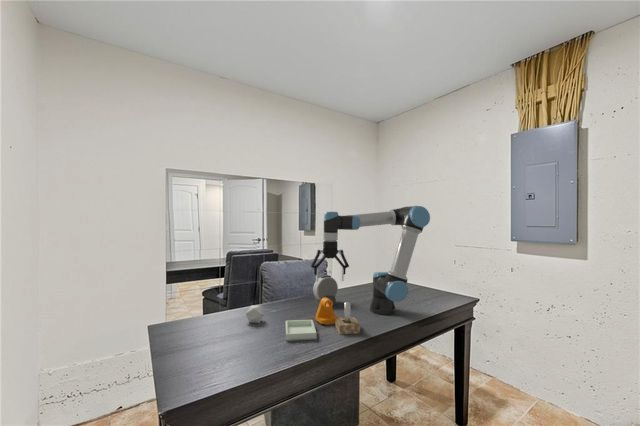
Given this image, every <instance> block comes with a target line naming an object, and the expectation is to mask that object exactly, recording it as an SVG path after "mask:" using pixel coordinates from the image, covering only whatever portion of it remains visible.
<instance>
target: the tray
mask: <svg viewBox="0 0 640 426" xmlns="http://www.w3.org/2000/svg"><path fill="white" fill-rule="evenodd" d="M284 325H285V340H286V342H288V341H289V342H291V341H292V342H293V341H294V342H295V341H310V340H311V341H312V340H314V341H315V340H317V334H318V333H317V330H316V327H315V323H314V321H313V319H298V320H296V319H295V320H292V319H291V320H285V324H284Z"/></svg>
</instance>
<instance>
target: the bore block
mask: <svg viewBox="0 0 640 426" xmlns="http://www.w3.org/2000/svg"><path fill="white" fill-rule="evenodd" d="M334 324H335V325H334V326H335V329H336V330H337V332H338V335H347V334H348V335H349V334H350V335H351V334H361V325H360V323H359V321H358V320H357V319H356V318H355V317H353V316H351V323H344V317H339V318H335V323H334Z"/></svg>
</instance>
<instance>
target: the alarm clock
mask: <svg viewBox="0 0 640 426" xmlns="http://www.w3.org/2000/svg"><path fill="white" fill-rule="evenodd" d="M313 284H314V285H313V286H312V291H313V292H312V293H313V296H314V304H315V305H317V306H318V307H319V304H320V301H321V299H322V298H324V297H326V298H328V299H330V300H332V302H333V305H336V304H337V299H336V296H337V294H338V290H339V289H338V288H339V286H338V282H337V281H336V280H335V278H333V277H332V276H331V275H329V274H323V275H321V276H320V277H318V282H317V281H316V280H315V282H314V283H313Z"/></svg>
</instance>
